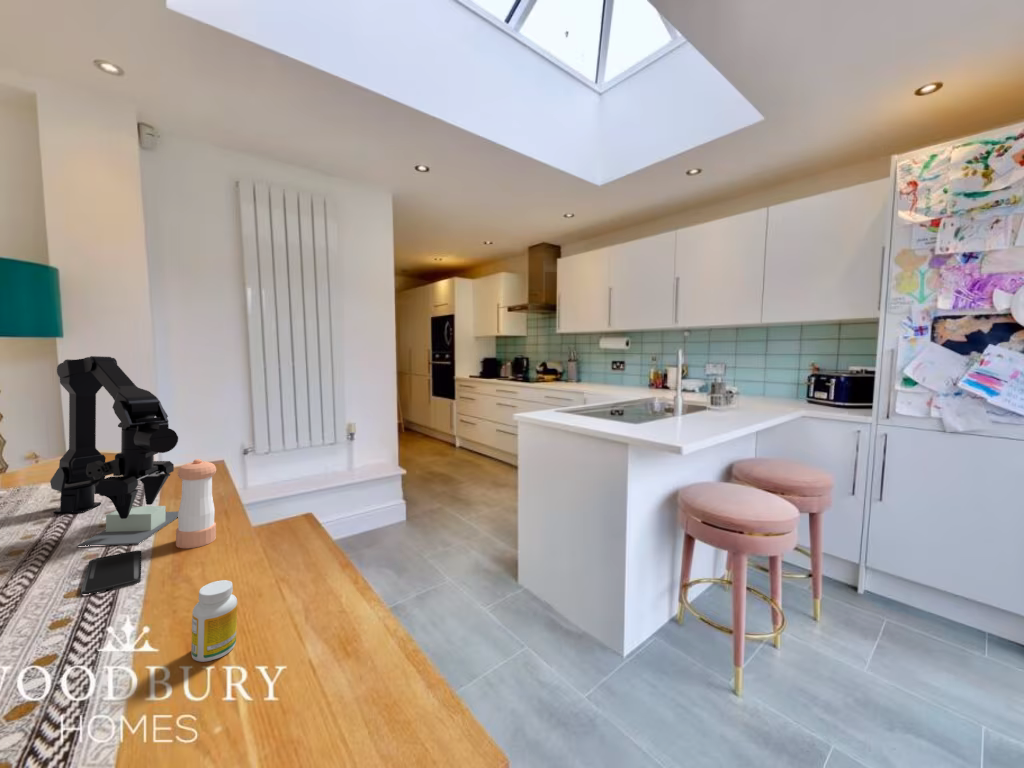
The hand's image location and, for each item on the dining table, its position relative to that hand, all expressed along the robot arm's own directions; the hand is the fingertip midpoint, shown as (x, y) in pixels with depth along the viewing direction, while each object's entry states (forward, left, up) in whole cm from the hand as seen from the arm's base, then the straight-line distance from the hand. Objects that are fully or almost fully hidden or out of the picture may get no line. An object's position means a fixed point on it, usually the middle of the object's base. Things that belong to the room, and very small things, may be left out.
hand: (137, 511), depth 97 cm
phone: (+22, +8, -5) cm, 24 cm away
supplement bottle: (+48, +36, -4) cm, 60 cm away
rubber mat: (0, 0, -4) cm, 4 cm away
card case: (0, 0, -4) cm, 4 cm away
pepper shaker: (+9, +16, -4) cm, 19 cm away
